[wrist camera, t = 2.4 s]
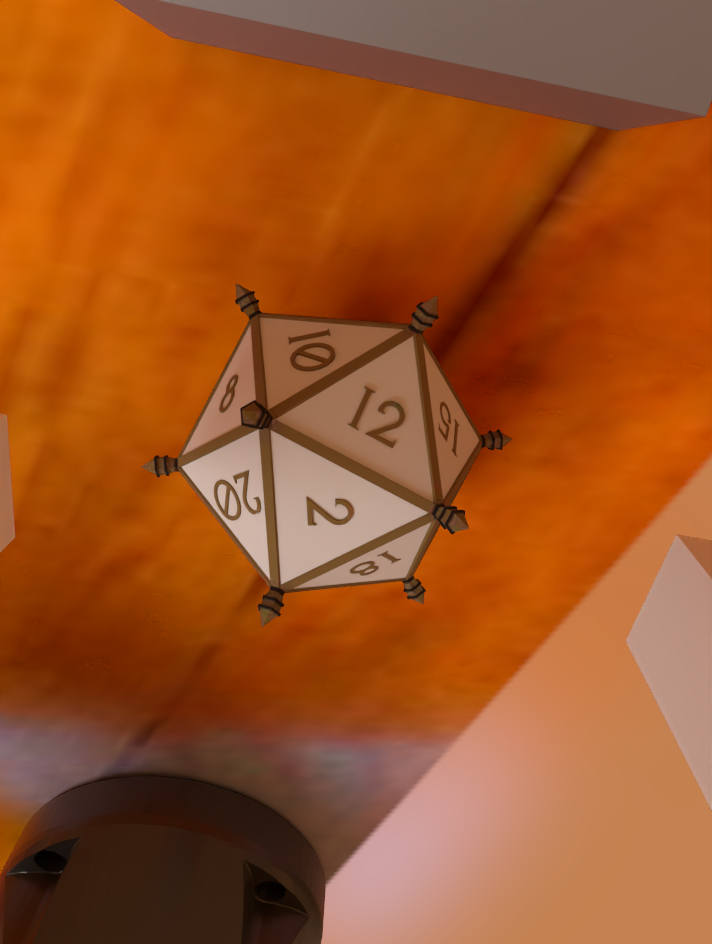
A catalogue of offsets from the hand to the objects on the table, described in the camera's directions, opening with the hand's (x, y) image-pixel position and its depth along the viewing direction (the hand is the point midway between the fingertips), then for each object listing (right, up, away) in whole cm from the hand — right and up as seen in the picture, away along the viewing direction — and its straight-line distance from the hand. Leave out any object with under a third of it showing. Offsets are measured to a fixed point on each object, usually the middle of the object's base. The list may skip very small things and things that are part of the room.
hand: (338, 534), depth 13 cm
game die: (0, +4, +8) cm, 9 cm away
